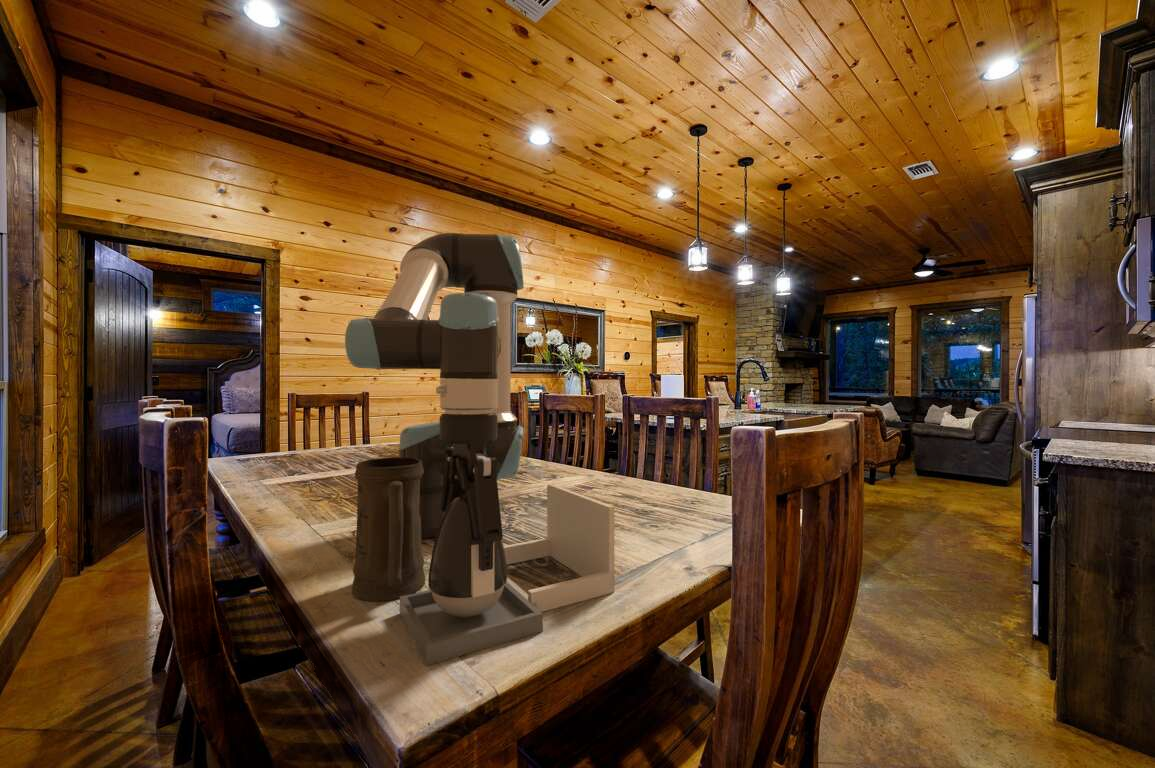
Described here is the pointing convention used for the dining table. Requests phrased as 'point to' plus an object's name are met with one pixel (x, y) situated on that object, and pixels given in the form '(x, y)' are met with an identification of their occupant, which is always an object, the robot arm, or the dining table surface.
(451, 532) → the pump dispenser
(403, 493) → the beer stein
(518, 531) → the dining table surface
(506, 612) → the tray
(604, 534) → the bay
